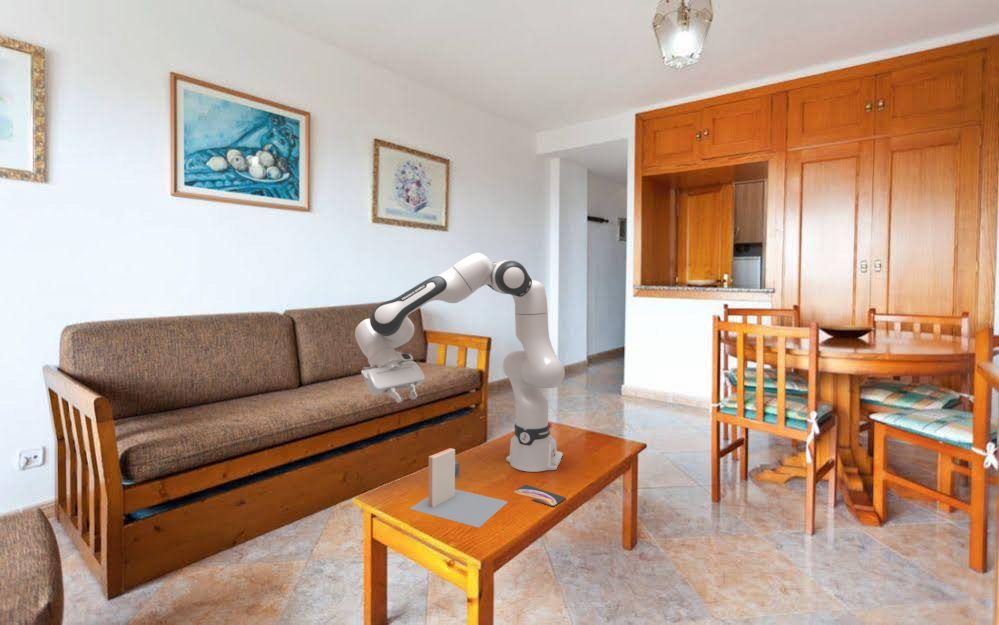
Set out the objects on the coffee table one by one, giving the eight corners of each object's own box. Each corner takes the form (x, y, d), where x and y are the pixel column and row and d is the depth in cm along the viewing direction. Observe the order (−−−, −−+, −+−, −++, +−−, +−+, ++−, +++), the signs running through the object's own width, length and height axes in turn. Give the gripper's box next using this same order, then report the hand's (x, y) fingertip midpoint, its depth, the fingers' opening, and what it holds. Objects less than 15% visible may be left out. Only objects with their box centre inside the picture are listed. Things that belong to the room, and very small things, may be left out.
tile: (428, 505, 139) (428, 456, 138) (450, 494, 146) (450, 448, 145) (433, 507, 138) (433, 457, 137) (454, 496, 145) (455, 449, 144)
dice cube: (437, 479, 159) (437, 464, 158) (446, 474, 163) (446, 459, 162) (450, 482, 156) (450, 467, 156) (459, 477, 160) (459, 462, 160)
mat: (443, 487, 152) (443, 486, 152) (508, 503, 142) (508, 501, 142) (409, 510, 137) (409, 508, 137) (478, 529, 127) (479, 527, 127)
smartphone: (553, 506, 139) (511, 492, 149) (553, 509, 139) (511, 494, 149) (567, 497, 145) (525, 483, 154) (567, 500, 145) (525, 486, 155)
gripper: (363, 361, 145) (385, 399, 140) (415, 354, 161) (436, 387, 156) (354, 375, 148) (375, 412, 143) (405, 366, 164) (426, 399, 159)
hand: (407, 399), depth 150 cm, fingers open, 4 cm apart
